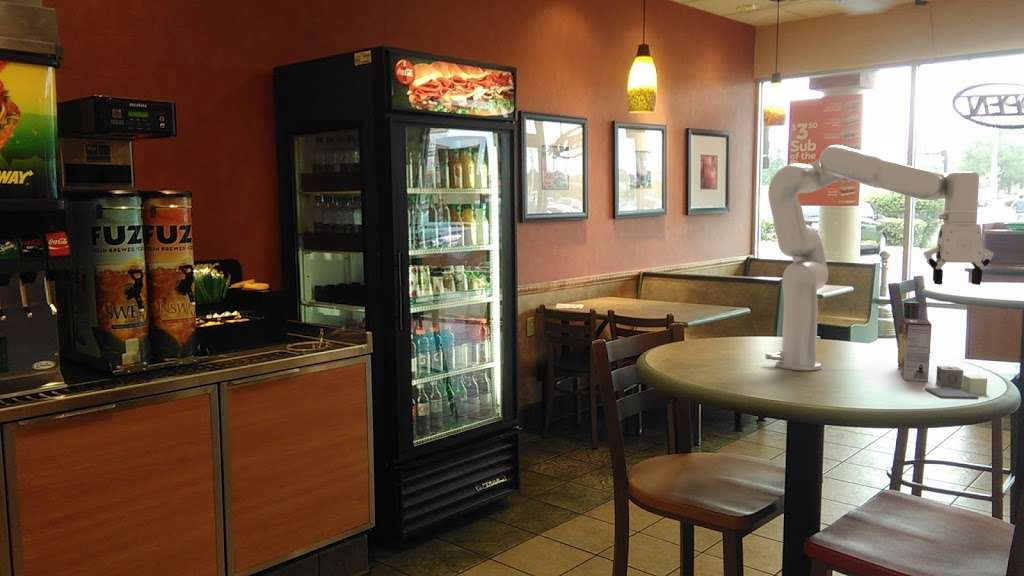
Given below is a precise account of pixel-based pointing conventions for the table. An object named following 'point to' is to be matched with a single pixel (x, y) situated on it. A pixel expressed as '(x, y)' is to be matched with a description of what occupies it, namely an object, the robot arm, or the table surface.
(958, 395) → the black mat
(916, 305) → the sauce bottle
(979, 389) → the sage block
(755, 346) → the table surface
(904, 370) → the coffee box
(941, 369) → the grey cube
